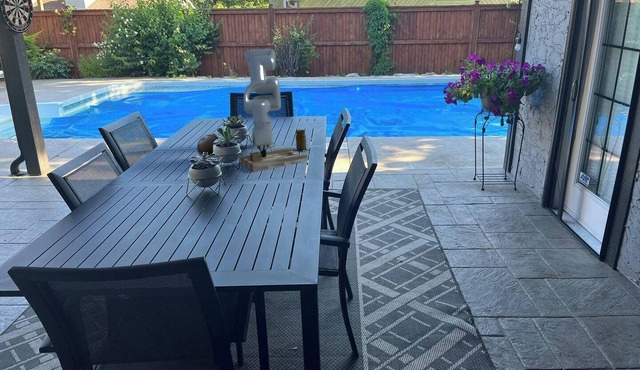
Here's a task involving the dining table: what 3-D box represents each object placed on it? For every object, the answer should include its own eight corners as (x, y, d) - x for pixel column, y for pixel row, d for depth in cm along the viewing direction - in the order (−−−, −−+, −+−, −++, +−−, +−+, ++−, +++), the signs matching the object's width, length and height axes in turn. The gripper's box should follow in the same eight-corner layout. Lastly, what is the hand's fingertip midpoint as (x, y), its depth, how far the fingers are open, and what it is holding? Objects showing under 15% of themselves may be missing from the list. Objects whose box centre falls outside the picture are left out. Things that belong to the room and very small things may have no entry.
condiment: (302, 147, 298) (301, 128, 294) (311, 149, 292) (310, 130, 288) (293, 150, 294) (291, 130, 290) (301, 152, 288) (300, 132, 284)
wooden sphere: (193, 162, 279) (189, 137, 274) (210, 155, 291) (207, 131, 286) (213, 164, 272) (210, 138, 267) (230, 157, 284) (227, 132, 279)
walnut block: (250, 160, 270) (249, 153, 268) (258, 158, 272) (258, 151, 270) (253, 162, 265) (252, 155, 264) (262, 160, 268) (261, 153, 266)
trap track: (240, 163, 271) (239, 156, 270) (291, 153, 286) (291, 147, 284) (253, 172, 255) (253, 164, 253) (307, 161, 269) (307, 154, 268)
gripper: (270, 121, 271) (273, 153, 277) (245, 125, 264) (248, 158, 270) (276, 123, 265) (278, 156, 271) (250, 127, 258) (253, 160, 264)
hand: (263, 157), depth 270 cm, fingers closed
